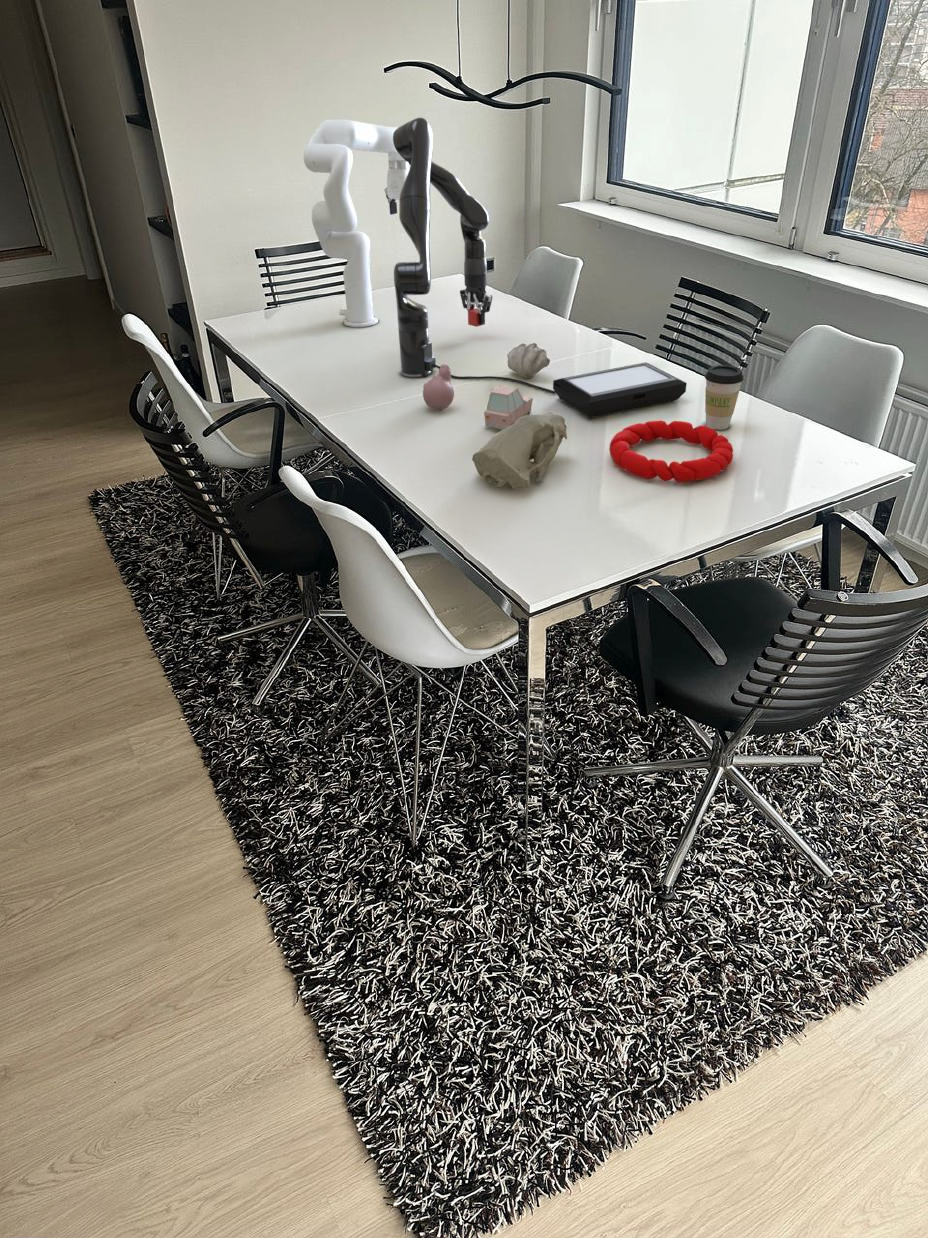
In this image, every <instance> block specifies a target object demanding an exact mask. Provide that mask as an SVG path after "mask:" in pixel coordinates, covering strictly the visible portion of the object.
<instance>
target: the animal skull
mask: <svg viewBox="0 0 928 1238" xmlns="http://www.w3.org/2000/svg"><path fill="white" fill-rule="evenodd" d="M567 429H568V427H567V424H566V419H565V418H564V416H563V415H562V414H559V413H554V412H552V411H547V412H544V413H537V414H530V415H527V416H523V417H520V418H519V419H518V420H517V421H516V422H515V423H514V424H513V425H511V426H509V427H507V428H505V429H501V430H500V431H499V432H498V433H497V434H495V435H494V436H493V437H491V439H489V440H488V441H487V442H486V443H485V444H484V445H483V446H482V447H481V448H480V449H479V450H478V451H477V452H475V453H474V454H473V455H472V458H471V461H472V462H473V464H474V467H475V469H476V471H477V473H478V475H479V476H480V477H482V478H483V480H484V481H485V482H486V483H491V482H497V488H501V487H503V486H504V485H505V484H507V483H508V484H509V485H510V486H511V488H512V490H515V489H517V488H520V487H521V488H523V487H524V488H526V487H527V488H529V487H530V475H531V474H533V473H535V476H536V479H535V481H536V482H537V483H539V482H540V481H541V480H542V477H543V476H544V474H545V473H546V472H547V471H548V468H549V466H550V465H551V463H552V462H553V460H554V459H555V456H556V454H557V452H558V450H559V447H560V446H561V444H562V442H563V440H568V434H567Z"/></svg>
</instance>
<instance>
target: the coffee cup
mask: <svg viewBox="0 0 928 1238" xmlns="http://www.w3.org/2000/svg"><path fill="white" fill-rule="evenodd" d="M704 379H705V387H704V388H705V389H704V390H705V392H704V393H705V394H704V395H705V396H704V397H705V399H704V401H705V402H704V403H705V404H704V406H705V408H704V412H705V426H706V427H709V428H711V429H713V430H715V431H717V430H719V431H722V430H727V429H729V428H730V424H731V422H732V421H731V420H732V418H733V415H734V413H735V408H736V404H737V401H738V397H739V394H740V390H741V389H740V387H741V384H742V382H743V381H744V379H745V377H744V374H743V370H742V369H741V368H739V367H738V366H734V365H728V364H717V365H712V366H710V367H708V369H707V372H705V374H704Z"/></svg>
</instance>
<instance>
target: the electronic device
mask: <svg viewBox="0 0 928 1238" xmlns="http://www.w3.org/2000/svg"><path fill="white" fill-rule="evenodd" d="M552 382H553V383H552V390H553V391H555V392H556V393H555V395H557V397H558V398H559V399H560V400H561V401H562V402H564V403H565V404H567V405H568V406H570V407H572V408H574V409H575V410H577V411H579V412H580V413H581V414H583V415H585V416H586V417H588V418H589V419H592V418H597V417H602V416H606V415H611V414H616V413H622V412H627V411H631V410H636V409H641V408H646V407H651V406H655V405H660V404H661V405H662V404H666V403H669V402H675V401H678V400H679V399H680V398H681V397H682V396H683V395H684V394H685V393H686V392H687V386H688V385H687V384H688V383H687V381H686V382H685V381H684V380H682V379H680V378H678V377H676V376H674V375H672V374H670V373H668V372H666V371H664V370H662V369H660V368H658V367H657V366H655V365H653V364H650V363H649V362H640V363H635V364H631V365H624V366H619V367H615V368H608V369H604V370H598V371H593V372H592V371H591V372H588V373H587V372H586V373H583V374H577V375H572V376H567V377H560V378H556V379H553V381H552Z"/></svg>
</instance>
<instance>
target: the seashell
mask: <svg viewBox="0 0 928 1238" xmlns="http://www.w3.org/2000/svg"><path fill="white" fill-rule="evenodd" d="M506 356H507V367H508V369H510V370H511V371H513V372H515V373H517V374H518V375H519V376H521V377H522V378H526V379H531V378H534V376H536V375H537V374H538V373H539V372H540V371H541V370H543V369H544V368H547V367H548V366H549V365H550V363H551V360H550V358H549V357H548V352H547V350H545V348H544V349H543V348H541V347H540V346H539V345H538V344H537V343H536V342H533V343H530V344H526V343H521V344H519V345H518V346H515V347H513V348H511V350H510V351H508V353H507V355H506Z"/></svg>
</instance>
